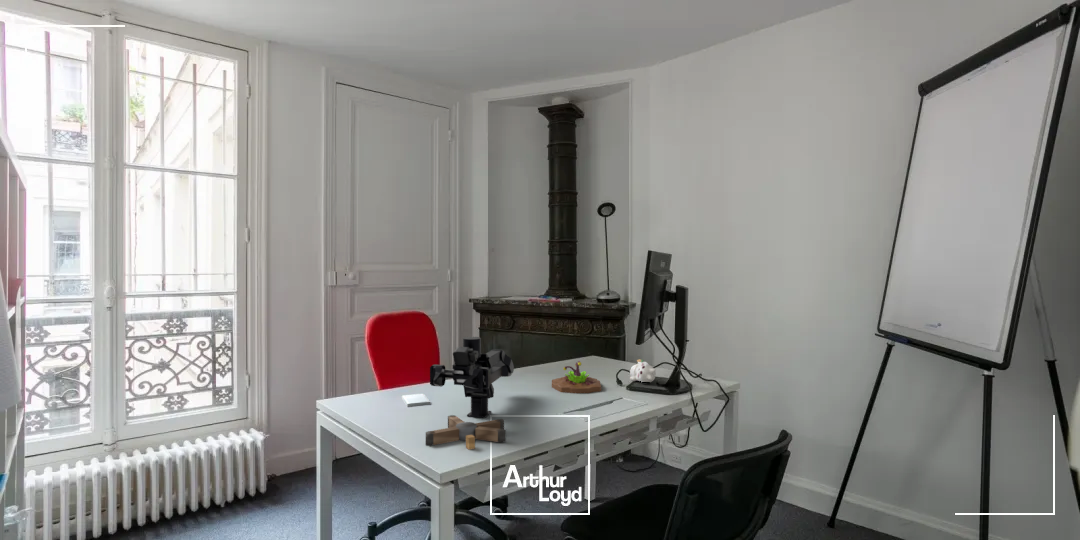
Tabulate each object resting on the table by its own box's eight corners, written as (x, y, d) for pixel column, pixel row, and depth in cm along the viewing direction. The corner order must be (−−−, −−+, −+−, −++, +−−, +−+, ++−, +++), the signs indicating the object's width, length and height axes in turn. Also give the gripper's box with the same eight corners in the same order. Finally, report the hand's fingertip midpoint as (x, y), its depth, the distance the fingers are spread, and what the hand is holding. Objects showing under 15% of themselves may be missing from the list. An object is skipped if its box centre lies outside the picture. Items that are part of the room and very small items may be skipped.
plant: (558, 395, 210) (558, 366, 210) (547, 383, 230) (547, 356, 229) (608, 393, 215) (609, 364, 214) (593, 381, 234) (593, 354, 233)
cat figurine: (630, 356, 238) (651, 358, 224) (644, 364, 240) (665, 367, 227) (621, 376, 235) (642, 380, 221) (635, 385, 238) (657, 388, 224)
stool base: (411, 432, 166) (411, 420, 166) (486, 419, 179) (486, 408, 179) (438, 455, 148) (437, 442, 148) (518, 439, 160) (518, 427, 160)
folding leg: (475, 439, 160) (475, 428, 160) (479, 436, 162) (479, 426, 162) (503, 442, 157) (503, 432, 157) (507, 439, 159) (507, 429, 159)
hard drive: (430, 401, 197) (423, 392, 208) (407, 403, 194) (401, 395, 205) (430, 406, 197) (423, 397, 208) (407, 408, 194) (401, 399, 205)
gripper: (441, 344, 176) (418, 353, 161) (496, 347, 172) (479, 356, 157) (441, 379, 177) (419, 391, 162) (496, 383, 172) (479, 395, 157)
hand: (448, 383), depth 159 cm, fingers open, 9 cm apart
